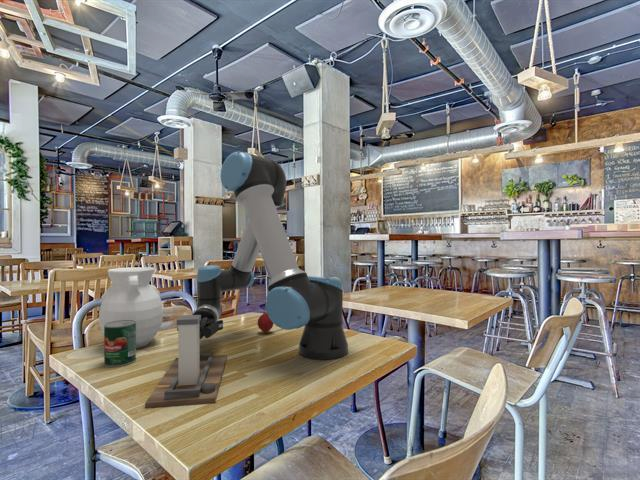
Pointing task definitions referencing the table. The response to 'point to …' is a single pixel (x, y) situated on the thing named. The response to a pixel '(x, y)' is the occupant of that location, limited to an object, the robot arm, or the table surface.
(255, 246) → the robot arm
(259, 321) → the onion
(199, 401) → the brown board with rails
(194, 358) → the grey rectangular block
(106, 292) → the pitcher
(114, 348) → the canned tomato
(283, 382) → the table surface
